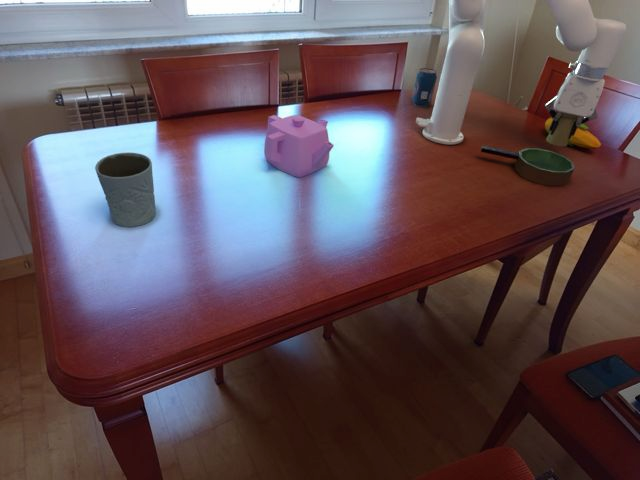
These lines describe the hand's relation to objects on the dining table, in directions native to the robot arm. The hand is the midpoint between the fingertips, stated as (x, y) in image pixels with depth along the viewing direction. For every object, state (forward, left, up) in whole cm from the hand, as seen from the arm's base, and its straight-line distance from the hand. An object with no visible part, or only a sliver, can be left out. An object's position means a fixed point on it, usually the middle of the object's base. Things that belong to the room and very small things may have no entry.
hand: (559, 134), depth 127 cm
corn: (+6, +13, -7) cm, 16 cm away
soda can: (-44, +22, -7) cm, 50 cm away
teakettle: (-64, -43, -7) cm, 78 cm away
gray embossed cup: (-84, -82, -7) cm, 118 cm away
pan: (-8, -15, -7) cm, 18 cm away
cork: (0, 0, -2) cm, 2 cm away
